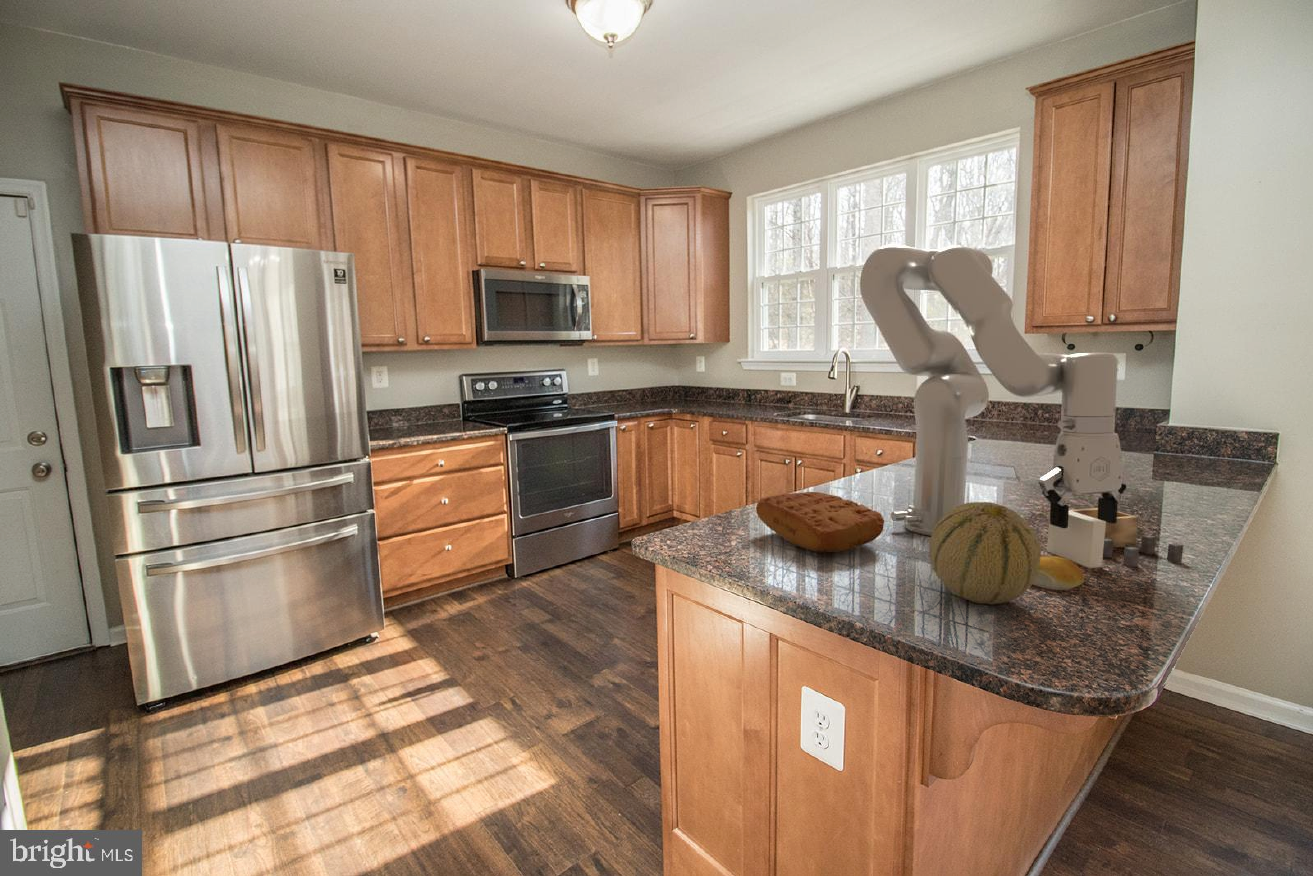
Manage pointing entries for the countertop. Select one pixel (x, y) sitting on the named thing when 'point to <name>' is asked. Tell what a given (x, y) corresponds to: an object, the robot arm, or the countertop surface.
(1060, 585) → the bread roll
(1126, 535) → the open wooden box
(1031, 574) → the cantaloupe
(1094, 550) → the white block
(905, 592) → the countertop surface
